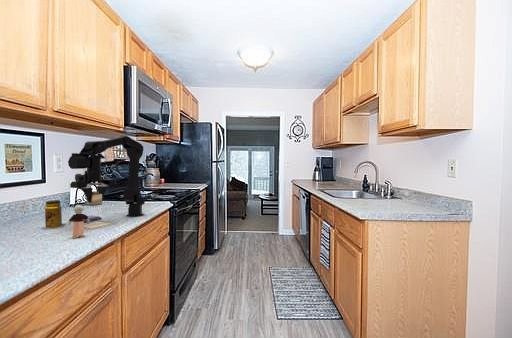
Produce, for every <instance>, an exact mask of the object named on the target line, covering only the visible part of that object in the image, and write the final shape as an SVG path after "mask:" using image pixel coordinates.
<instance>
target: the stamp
mask: <svg viewBox="0 0 512 338" xmlns="http://www.w3.org/2000/svg"><path fill="white" fill-rule="evenodd" d="M85 198H86V197H85ZM102 205H103V197H102V194H98V190H97V191H96V190H95V191H92V198H91V203H89V202H88V200H87V198H86V206H89V207H90V206H91V207H96V206H102Z"/></svg>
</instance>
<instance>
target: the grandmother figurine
mask: <svg viewBox="0 0 512 338" xmlns="http://www.w3.org/2000/svg"><path fill="white" fill-rule="evenodd" d="M83 211H84V206H82V205H80V204H77V205H75V206H74V208H73V212H74V214H73V215H72V216H71V217H70V218H69V219H68V222H67V224H66V226H70V225H71V224H73V225H72V237H71V239H77V238H84V237H85V234H84V233H85V229H84V224H85V223H84V221H83V219H85V220H87V223H91V222H90V220H89V218H88V216H89V215H86V214H85V213H83ZM72 221H74V222H72Z"/></svg>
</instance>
